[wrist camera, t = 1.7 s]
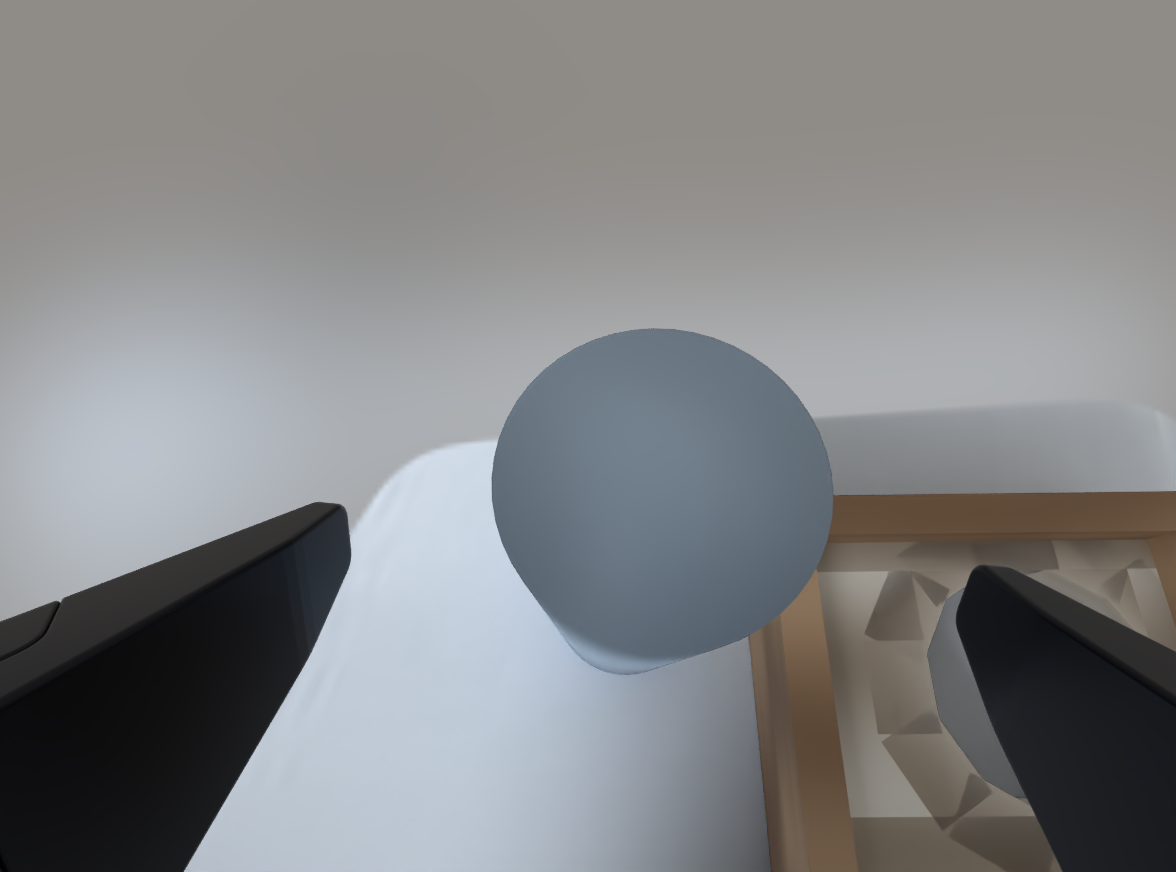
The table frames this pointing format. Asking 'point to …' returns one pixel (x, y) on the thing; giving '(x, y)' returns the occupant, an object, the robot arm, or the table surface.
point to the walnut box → (926, 671)
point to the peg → (660, 496)
